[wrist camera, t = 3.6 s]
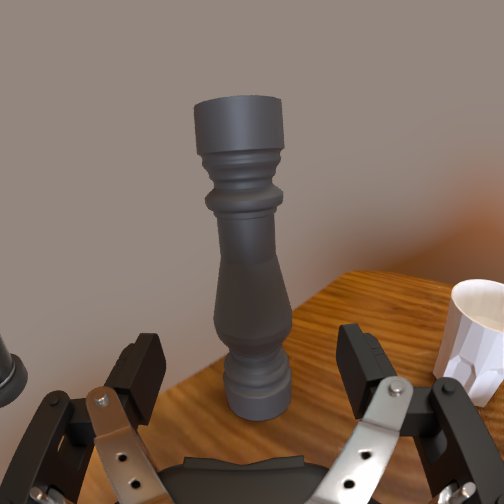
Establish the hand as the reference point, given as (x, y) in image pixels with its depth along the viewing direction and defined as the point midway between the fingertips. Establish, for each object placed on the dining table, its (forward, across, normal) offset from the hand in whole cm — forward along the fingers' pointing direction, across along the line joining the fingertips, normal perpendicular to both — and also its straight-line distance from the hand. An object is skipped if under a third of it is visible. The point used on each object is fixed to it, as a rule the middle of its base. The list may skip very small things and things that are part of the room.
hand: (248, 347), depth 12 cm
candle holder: (+9, 0, +14) cm, 17 cm away
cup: (+6, -22, +14) cm, 27 cm away
